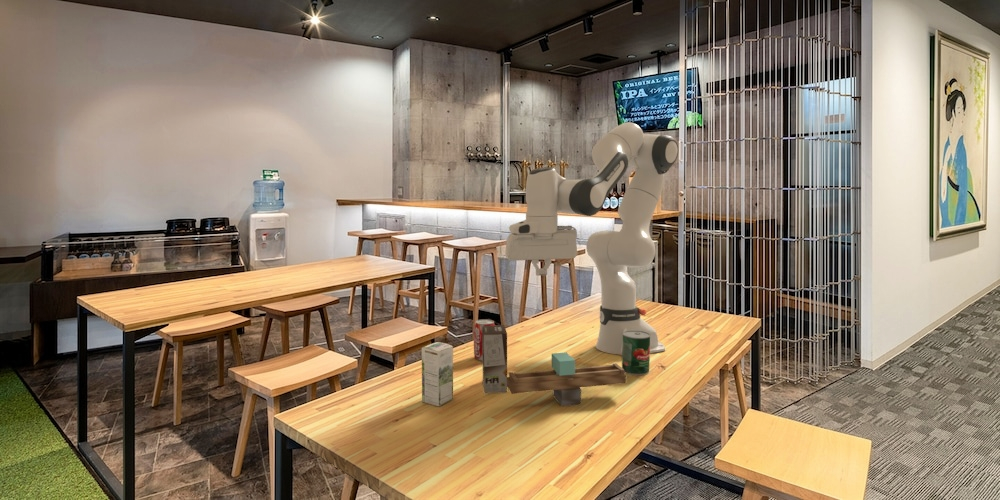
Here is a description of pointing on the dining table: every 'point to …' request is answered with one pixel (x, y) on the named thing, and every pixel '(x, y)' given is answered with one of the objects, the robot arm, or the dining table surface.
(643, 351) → the canned tomato
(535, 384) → the beam
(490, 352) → the coffee box
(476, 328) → the soda can
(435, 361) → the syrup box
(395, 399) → the dining table surface
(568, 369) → the block
